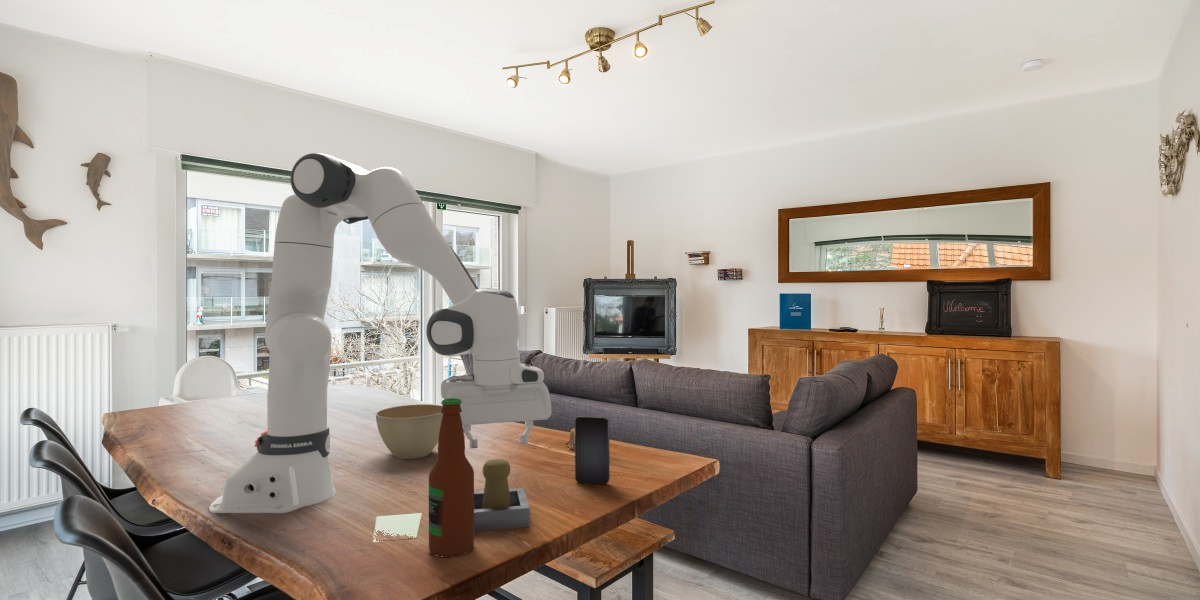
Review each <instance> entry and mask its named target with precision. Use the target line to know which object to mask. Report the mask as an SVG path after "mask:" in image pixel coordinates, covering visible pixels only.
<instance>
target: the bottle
mask: <svg viewBox="0 0 1200 600" xmlns="http://www.w3.org/2000/svg"><path fill="white" fill-rule="evenodd" d="M440 403H441V406H443V407H442V410H441V413H443V417H442V420H441V426H440V432H439V438H438V443H437V458H436V460H435V462H434V464H433V465H432V467H431V468H430V469H429V473H428V549H429V551H430V553H431V555H433V554H434V556H435V555H438V556H443V557H442V558H452V557H451V556H456V557H459V556H458V555H460V556H463V555H465V554H467V553H468V551H469V552H470V551H471V550H472V549H473V547H474V545H475V531H474V492H475V470H474V467H473V466H472V464H471V463H470V462H469V460H468V458H467V457H466V454H465V453H466V450H465V449H466V443H465V433H464V431H463V426H462V421H461V416H460V412H462V410H461V407H460V404H461V403H462V402H461V400H460V399H457V398H450V399H443V400H442V401H441V402H440ZM466 552H467V553H466ZM464 553H465V554H464ZM462 554H463V555H462ZM438 556H437V557H438Z"/></svg>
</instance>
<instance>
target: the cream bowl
mask: <svg viewBox="0 0 1200 600" xmlns="http://www.w3.org/2000/svg"><path fill="white" fill-rule="evenodd" d="M442 407H443V405H440V404H431V403H429V404H427V403H426V404H423V403H422V404H421V403H420V404H417V403H416V404H408V405H406V404H404V405H397V406H392V407H387V408H384V409H380V410H378V411H376V413H375V420H376V426H377V430H378V433H379V435H380V438H381V440H382V442H383V444H384V445H385V446H386V447H387V450H389V452H390V453H391V454H392V455H393V456H394V457H396V458H397V459H400V460H416V459H421V458H424V457H427V456H429V455H430V454H431V453H432V451H433V450H434V449H435V448H436V446H437V445H438V438H439V432H440V426H441V420H442V417H443V413H441V410H442Z"/></svg>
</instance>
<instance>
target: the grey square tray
mask: <svg viewBox="0 0 1200 600" xmlns="http://www.w3.org/2000/svg"><path fill="white" fill-rule="evenodd" d="M509 493H510V501H511V507H500V508H488V509H482V504H483V496H484V490H477V491H474V532H479V531H490V530H491V531H492V530H505V529H506V530H507V529H515V528H530V525H531V524H530V523H531V522H530V521H531V517H530V515H531V514H530V513H531V512H530V511H531V510H530V505H529V501H528V497H527V494H526V490H525V488H524V487H518V488H517V487H515V488H509Z"/></svg>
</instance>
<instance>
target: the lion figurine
mask: <svg viewBox="0 0 1200 600" xmlns="http://www.w3.org/2000/svg"><path fill="white" fill-rule="evenodd" d="M565 445H566V446H567V445H569V450H574V447H575V428H572V429H570V431H569V441H568V442H565Z"/></svg>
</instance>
